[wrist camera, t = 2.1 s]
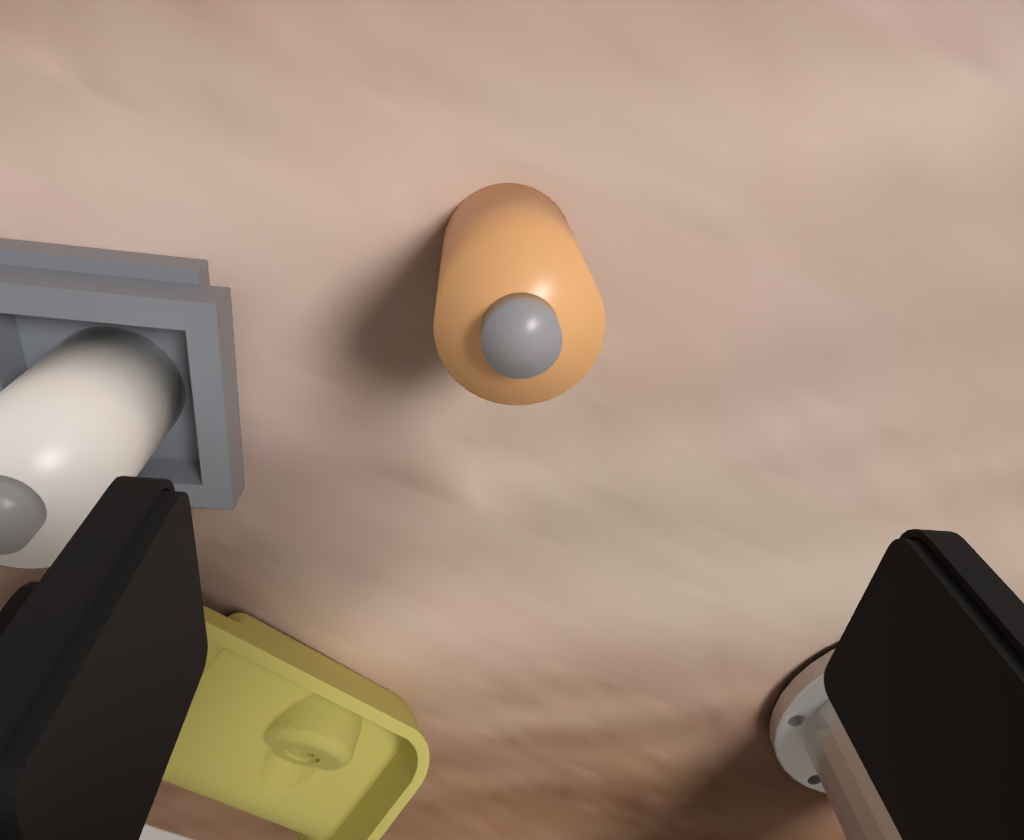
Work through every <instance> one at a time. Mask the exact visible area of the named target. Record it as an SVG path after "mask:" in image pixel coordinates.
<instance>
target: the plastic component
mask: <svg viewBox="0 0 1024 840" xmlns="http://www.w3.org/2000/svg"><path fill="white" fill-rule="evenodd" d="M203 609H204V617H205V625H206V633H207V640H208V652H207V659H206V664H205V668H204V671H203V674H202V677H201V679H200V682H199V685H198V687H197V690H196V692H195V695H194V698H193V700H192V703H191V705H190V708H189V711H188V713H187V716H186V718H185V721H184V723H183V726H182V729H181V731H180V734H179V736H178V739H177V742H176V744H175V747H174V749H173V752H172V755H171V757H170V760H169V762H168V765H167V767H166V770H165V773H164V775H163V778H162V780H163V781H166V782H169V783H171V784H174V785H176V786H179V787H182V788H184V789H187V790H190V791H192V792H195V793H197V794H200V795H203V796H205V797H208V798H210V799H213V800H216V801H218V802H221V803H223V804H226V805H229V806H231V807H234V808H237V809H239V810H242V811H244V812H247V813H250V814H252V815H255V816H257V817H260V818H263V819H265V820H268V821H270V822H273V823H276V824H278V825H281V826H284V827H286V828H289V829H291V830H294V831H296V834H297V836H298V839H299V840H379V839H380V838H381V837H382V835H383V834H384V833H385V831H386V830H387V829H388V827H389V826H390V825H391V824H392V822H393V821H394V820H395V818H396V817H397V816H398V814H399V813H400V812H401V811H402V809H403V808H404V807H405V805H406V804H407V803H408V801H409V800H410V799H411V798H412V796H413V795H414V794H415V792H416V791H417V790H418V788H419V787H420V786H421V784H422V782H423V780H424V778H425V776H426V774H427V770H428V766H429V749H428V745H427V742H426V740H425V738H424V736H423V734H422V732H421V730H420V728H419V726H418V724H417V722H416V720H415V718H414V716H413V714H412V712H411V710H410V708H409V706H408V705H407V703H406V702H405V701H404V700H403V699H402V698H401V697H399V696H398V695H396V694H394V693H392V692H391V691H389V690H387V689H385V688H383V687H381V686H379V685H378V684H376V683H374V682H372V681H370V680H368V679H366V678H365V677H363V676H361V675H359V674H357V673H355V672H353V671H352V670H350V669H348V668H346V667H344V666H342V665H341V664H339V663H337V662H335V661H333V660H331V659H329V658H328V657H326V656H324V655H322V654H320V653H318V652H316V651H315V650H313V649H311V648H309V647H307V646H305V645H303V644H302V643H300V642H298V641H296V640H294V639H292V638H290V637H289V636H287V635H285V634H283V633H281V632H279V631H277V630H276V629H274V628H272V627H270V626H268V625H266V624H264V623H263V622H261V621H259V620H257V619H255V618H253V617H251V616H250V615H248V614H245V613H241V612H240V613H234V614H231V615H230V616H228V617H226V616H224V615H222V614H220V613H218V612H216V611H214V610H212V609H210V608H208V607H205V606H203ZM0 611H1V610H0Z"/></svg>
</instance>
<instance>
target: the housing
mask: <svg viewBox="0 0 1024 840" xmlns="http://www.w3.org/2000/svg"><path fill="white" fill-rule="evenodd" d="M95 326H112V327H119V328H123V329H127V330H130V331H133V332H135V333H138V334H140V335H142V336H144V337H146V338H148V339H149V340H151V341H152V342H154V343H155V344H156V345H158V346H159V347H160V348H162V349H163V350H164V351H165V352H166V353H167V354H168V355H169V357H170V358H171V359H172V360H173V361H174V363H175V364H176V366H177V367H178V369H179V371H180V373H181V375H182V378H183V381H184V385H185V390H186V399H185V405H184V409H183V411H182V413H181V415H180V417H179V418H178V420H177V421H176V423H175V424H174V425H173V427H172V428H171V429H170V431H169V432H168V434H167V435H166V436H165V438H164V439H163V441H162V442H161V443H160V445H159V446H158V448H157V449H156V450H155V452H154V453H153V454H152V456H151V457H150V459H149V460H148V461H147V463H146V464H145V466H144V467H143V468H142V470H141V471H140V473H139V474H138V475H137V477H148V478H163V479H169V480H171V481H172V483H173V485H174V488H175V491H179V492H186V493H187V494H188V496H189V500H190V507H201V508H216V509H230V510H233V509H234V507H235V505H236V503H237V501H238V499H239V497H240V495H241V492H242V490H243V488H244V486H245V484H244V470H243V456H242V443H241V429H240V415H239V401H238V388H237V374H236V360H235V346H234V333H233V319H232V305H231V291H230V288H228V287H218V286H209V274H208V263H207V260H200V259H190V258H181V257H172V256H162V255H153V254H143V253H134V252H125V251H115V250H106V249H97V248H87V247H78V246H68V245H59V244H50V243H40V242H31V241H22V240H12V239H3V238H0V391H2V390H3V389H4V388H5V387H7V386H8V385H9V384H10V383H12V382H13V381H14V380H15V379H17V378H18V377H19V376H20V375H22V374H23V373H24V372H25V371H26V370H28V369H29V368H30V367H31V366H33V365H34V364H35V363H36V362H38V361H39V360H40V359H41V358H43V357H44V356H45V355H46V354H48V353H49V352H50V351H51V350H53V349H54V348H55V347H56V346H57V345H59V344H60V343H61V342H62V341H64V340H65V339H66V338H67V337H69V336H70V335H71V334H73V333H75V332H77V331H79V330H82V329H85V328H89V327H95Z"/></svg>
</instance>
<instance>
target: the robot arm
mask: <svg viewBox="0 0 1024 840" xmlns="http://www.w3.org/2000/svg"><path fill="white" fill-rule="evenodd" d="M207 652H208V640H207V633H206V625H205V617H204V609H203V601H202V593H201V585H200V578H199V570H198V562H197V554H196V546H195V538H194V531H193V523H192V515H191V507H190V500H189V496H188V494H187V493H186V492H179V491H175V488H174V485H173V483H172V481H171V480H169V479H163V478H148V477H133V476H119V477H116V478H115V479H114V480H113V481H112V483H111V484H110V485H109V487H108V488H107V489H106V491H105V492H104V494H103V495H102V496H101V498H100V499H99V500H98V502H97V503H96V504H95V506H94V507H93V509H92V510H91V511H90V513H89V514H88V515H87V517H86V518H85V520H84V521H83V522H82V524H81V525H80V526H79V528H78V529H77V531H76V532H75V533H74V535H73V536H72V537H71V539H70V540H69V542H68V543H67V544H66V546H65V547H64V548H63V550H62V551H61V553H60V554H59V555H58V557H57V558H56V559H55V561H54V562H53V564H52V565H51V566H50V568H49V569H48V570H47V572H46V573H45V575H44V576H43V577H42V579H41V580H40V581H39V582H29V583H28V584H26V585H24V586H22V587H20V588H19V589H18V590H17V591H16V592H15V593H14V595H13V596H12V597H11V598H10V599H9V600H8V602H7V603H6V604H5V606H4V607H3V608H2V609H1V611H0V840H139V837H140V835H141V832H142V829H143V827H144V824H145V822H146V819H147V817H148V814H149V811H150V809H151V806H152V804H153V801H154V799H155V796H156V793H157V791H158V788H159V786H160V783H161V780H162V778H163V775H164V773H165V770H166V767H167V765H168V762H169V760H170V757H171V755H172V752H173V749H174V747H175V744H176V742H177V739H178V736H179V734H180V731H181V729H182V726H183V723H184V721H185V718H186V716H187V713H188V711H189V708H190V705H191V703H192V700H193V698H194V695H195V692H196V690H197V687H198V685H199V682H200V679H201V677H202V674H203V671H204V668H205V664H206V659H207ZM769 729H770V740H771V742H772V745H773V748H774V751H775V753H776V756H777V758H778V760H779V762H780V764H781V766H782V767H783V769H784V770H785V771H786V772H787V773H788V774H789V775H790V776H791V777H792V778H793V779H794V780H796V781H797V782H799V783H801V784H802V785H804V786H806V787H809V788H811V789H814V790H817V791H820V792H823V793H826V794H827V797H828V799H829V801H830V803H831V805H832V808H833V810H834V812H835V814H836V816H837V819H838V821H839V823H840V825H841V828H842V830H843V832H844V834H845V836H846V839H847V840H1024V603H1023V602H1022V601H1021V600H1020V599H1019V598H1018V597H1017V596H1016V595H1015V594H1014V592H1013V591H1012V590H1011V589H1010V588H1009V587H1008V586H1007V585H1006V584H1005V583H1004V582H1003V581H1002V580H1001V578H1000V577H999V576H998V575H997V574H996V573H995V572H994V571H993V570H992V569H991V568H990V567H989V566H988V564H987V563H986V562H985V561H984V560H983V559H982V558H981V557H980V556H979V555H978V554H977V553H976V552H975V550H974V549H973V548H972V547H971V546H970V545H969V544H968V543H967V542H966V541H965V540H964V539H963V538H962V537H961V536H959V535H958V534H956V533H953V532H949V531H935V530H920V529H913V530H908V531H906V532H905V533H903V534H902V535H901V537H900V538H899V539H896V540H894V541H893V542H891V544H890V545H889V547H888V548H887V550H886V552H885V554H884V556H883V558H882V560H881V562H880V564H879V566H878V568H877V570H876V572H875V573H874V575H873V577H872V579H871V581H870V583H869V585H868V587H867V589H866V591H865V593H864V595H863V597H862V598H861V600H860V602H859V604H858V606H857V608H856V610H855V612H854V614H853V616H852V618H851V620H850V622H849V623H848V625H847V627H846V629H845V631H844V633H843V635H842V637H841V639H840V641H839V643H838V645H837V647H836V648H834V649H832V650H831V651H829V652H827V653H826V654H824V655H823V656H821V657H820V658H818V659H817V660H815V661H814V662H812V663H811V664H810V665H808V666H807V667H806V668H805V669H804V670H803V671H802V672H800V673H799V674H798V675H797V676H796V677H795V678H794V679H793V680H792V681H791V683H790V684H789V685H788V686H787V687H786V689H785V690H784V691H783V692H782V694H781V695H780V697H779V699H778V701H777V703H776V705H775V707H774V708H773V712H772V715H771V719H770V723H769Z"/></svg>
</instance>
